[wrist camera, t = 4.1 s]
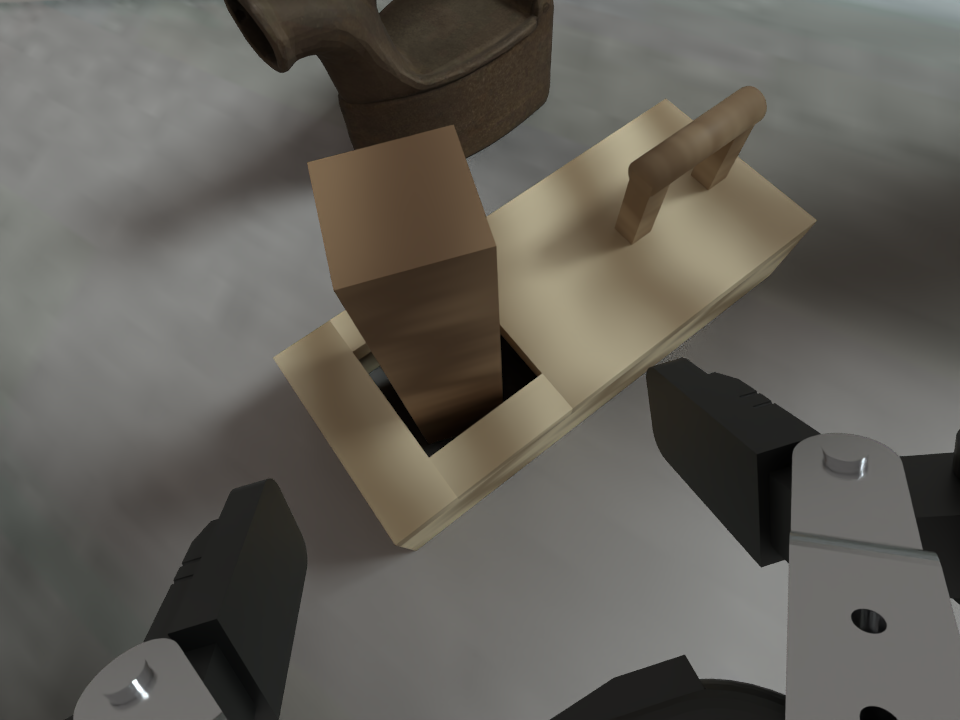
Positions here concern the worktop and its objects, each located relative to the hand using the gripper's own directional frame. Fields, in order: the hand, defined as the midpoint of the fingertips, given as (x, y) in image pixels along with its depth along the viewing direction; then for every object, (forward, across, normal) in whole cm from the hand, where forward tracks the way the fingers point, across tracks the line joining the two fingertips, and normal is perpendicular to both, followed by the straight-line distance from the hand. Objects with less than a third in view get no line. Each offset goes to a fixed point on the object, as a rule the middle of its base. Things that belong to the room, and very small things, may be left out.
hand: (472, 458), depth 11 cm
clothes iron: (+29, -3, -7) cm, 30 cm away
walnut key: (+16, 0, +6) cm, 17 cm away
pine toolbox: (+17, -6, +5) cm, 19 cm away
